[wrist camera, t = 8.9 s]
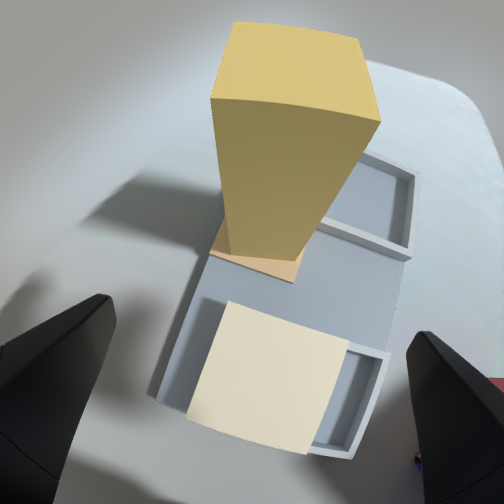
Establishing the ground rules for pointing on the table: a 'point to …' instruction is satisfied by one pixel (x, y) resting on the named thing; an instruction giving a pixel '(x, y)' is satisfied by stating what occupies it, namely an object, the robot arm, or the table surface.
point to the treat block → (287, 132)
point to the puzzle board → (300, 324)
